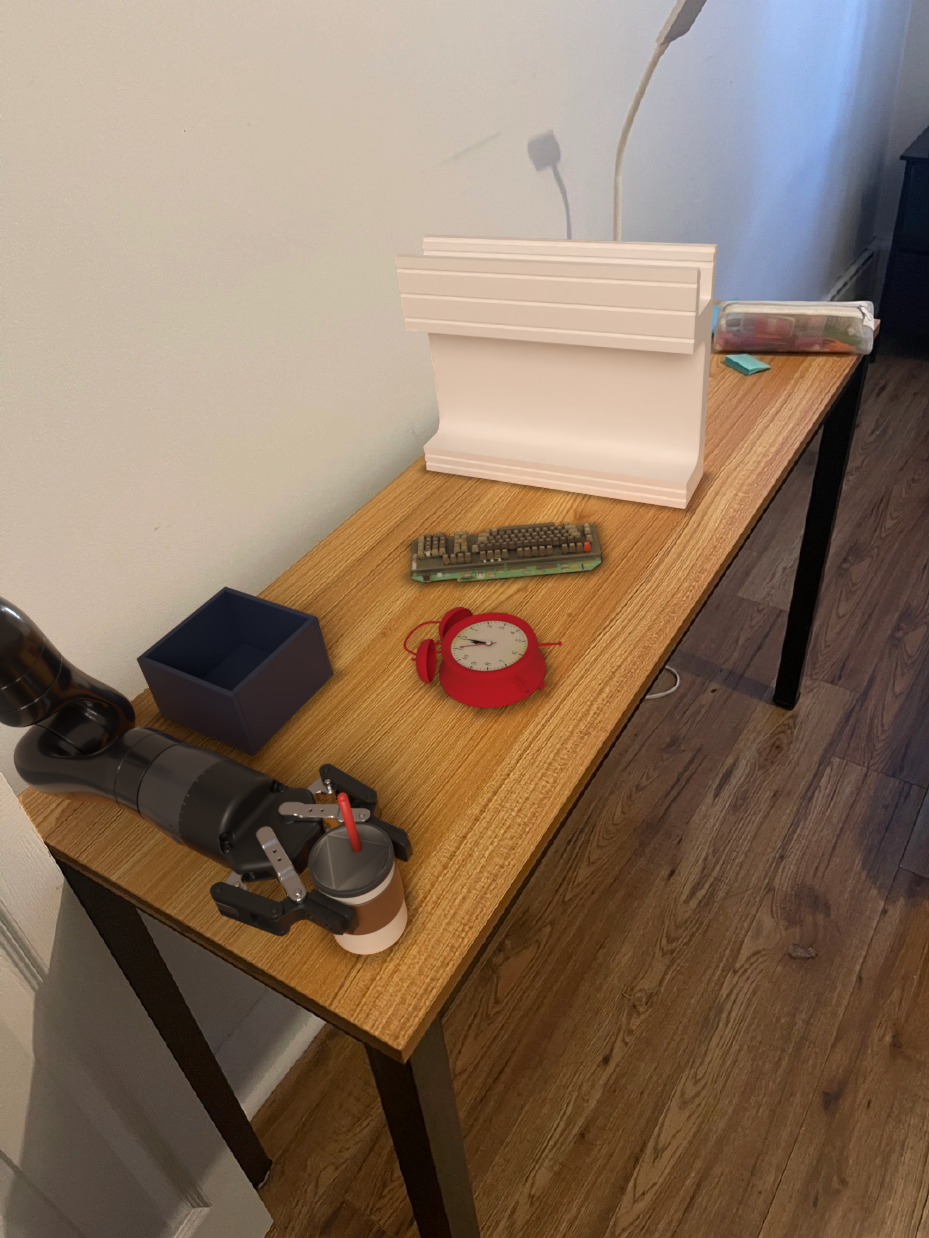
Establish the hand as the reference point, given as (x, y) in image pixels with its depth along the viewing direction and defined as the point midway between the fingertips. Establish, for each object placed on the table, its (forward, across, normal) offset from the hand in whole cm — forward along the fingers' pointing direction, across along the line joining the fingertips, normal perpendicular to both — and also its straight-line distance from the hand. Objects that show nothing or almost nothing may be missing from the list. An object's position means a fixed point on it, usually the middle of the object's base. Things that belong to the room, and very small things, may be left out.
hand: (382, 885), depth 65 cm
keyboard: (-16, +46, +6) cm, 49 cm away
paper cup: (-2, 0, +6) cm, 6 cm away
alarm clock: (-9, +28, +6) cm, 30 cm away
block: (-19, +65, +6) cm, 68 cm away
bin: (-28, +15, +6) cm, 33 cm away
